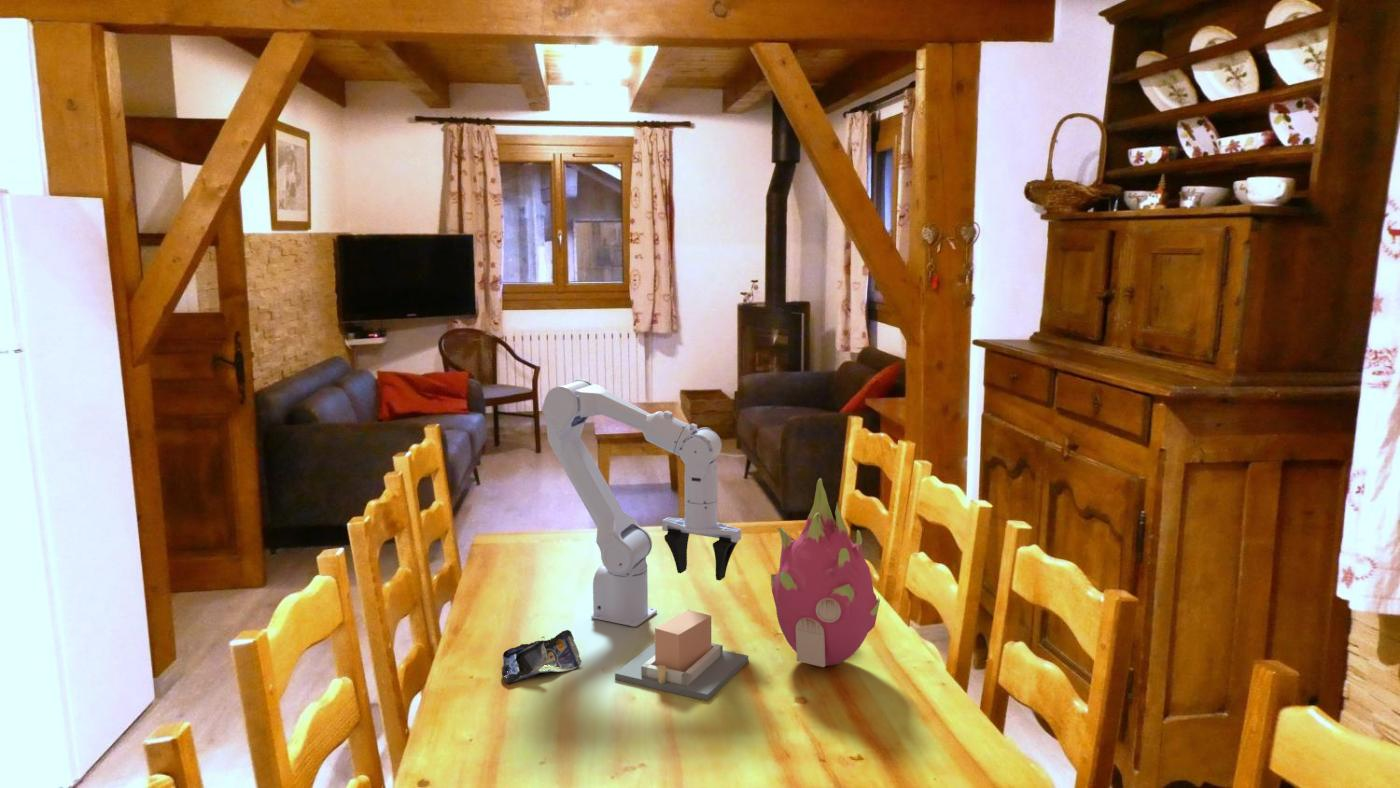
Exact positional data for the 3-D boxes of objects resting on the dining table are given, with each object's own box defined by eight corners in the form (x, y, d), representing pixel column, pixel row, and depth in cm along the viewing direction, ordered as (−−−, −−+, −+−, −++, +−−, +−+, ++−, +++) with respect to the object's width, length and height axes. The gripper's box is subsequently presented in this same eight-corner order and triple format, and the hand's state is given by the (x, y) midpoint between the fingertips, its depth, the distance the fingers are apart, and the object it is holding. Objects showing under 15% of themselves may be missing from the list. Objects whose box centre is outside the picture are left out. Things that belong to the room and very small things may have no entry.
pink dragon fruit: (756, 672, 152) (757, 487, 147) (781, 638, 164) (783, 467, 159) (868, 691, 145) (873, 498, 140) (885, 655, 158) (891, 477, 153)
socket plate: (615, 679, 149) (614, 658, 149) (661, 643, 163) (661, 623, 162) (707, 701, 142) (707, 678, 142) (748, 661, 156) (748, 640, 155)
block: (678, 678, 147) (678, 634, 146) (655, 670, 150) (654, 628, 149) (711, 657, 155) (711, 615, 154) (688, 650, 157) (688, 609, 156)
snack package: (560, 694, 145) (589, 658, 157) (551, 653, 144) (582, 620, 156) (488, 697, 149) (522, 662, 160) (479, 657, 148) (514, 624, 159)
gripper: (749, 499, 166) (748, 574, 168) (675, 489, 173) (676, 561, 175) (731, 509, 160) (730, 587, 162) (655, 498, 167) (656, 573, 169)
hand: (701, 575), depth 168 cm, fingers open, 7 cm apart
